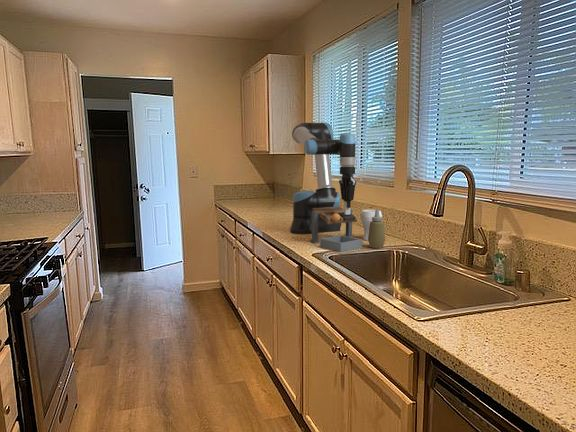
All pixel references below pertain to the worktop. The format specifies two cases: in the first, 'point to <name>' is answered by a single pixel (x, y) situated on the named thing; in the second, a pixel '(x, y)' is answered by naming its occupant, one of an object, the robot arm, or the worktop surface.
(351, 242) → the tray
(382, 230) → the squeeze bottle
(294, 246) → the worktop surface
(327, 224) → the tipping lever
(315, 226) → the lever stand
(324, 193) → the robot arm
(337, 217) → the ball
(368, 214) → the cup
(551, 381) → the worktop surface
